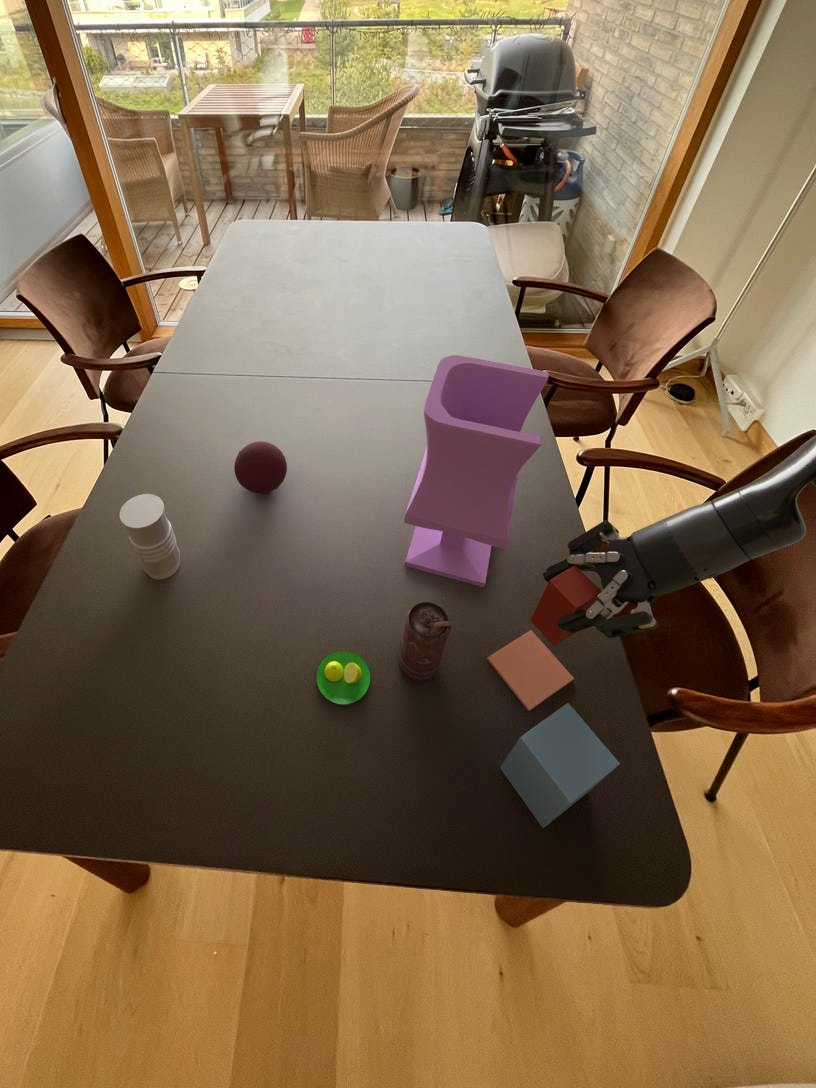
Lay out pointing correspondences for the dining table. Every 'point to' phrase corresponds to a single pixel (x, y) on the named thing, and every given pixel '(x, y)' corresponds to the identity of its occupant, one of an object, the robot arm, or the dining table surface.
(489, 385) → the vase
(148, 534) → the white ridged cylinder
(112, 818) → the dining table surface
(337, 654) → the green plate with lemons
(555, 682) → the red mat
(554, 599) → the red post
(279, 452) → the decorative ball
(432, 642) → the brown drink cup
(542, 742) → the blue stand
